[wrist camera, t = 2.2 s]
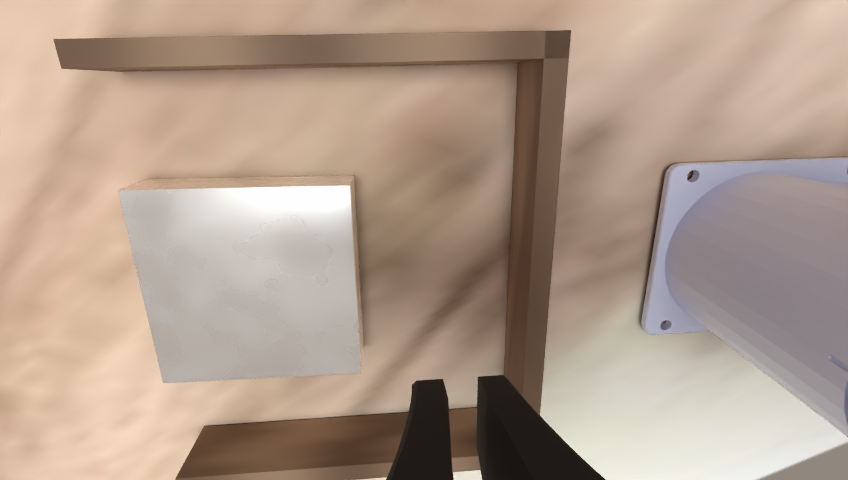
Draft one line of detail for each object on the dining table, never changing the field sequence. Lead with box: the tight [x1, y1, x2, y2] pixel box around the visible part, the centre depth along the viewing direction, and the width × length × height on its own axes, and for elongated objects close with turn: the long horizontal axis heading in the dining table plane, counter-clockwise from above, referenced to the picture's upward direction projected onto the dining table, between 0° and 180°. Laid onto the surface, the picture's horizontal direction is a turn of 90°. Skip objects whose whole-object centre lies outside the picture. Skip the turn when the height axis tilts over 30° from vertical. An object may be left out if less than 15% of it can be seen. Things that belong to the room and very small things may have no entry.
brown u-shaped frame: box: [54, 30, 571, 480], centre depth 18 cm, size 15×18×3 cm
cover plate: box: [118, 175, 364, 383], centre depth 18 cm, size 8×8×2 cm
